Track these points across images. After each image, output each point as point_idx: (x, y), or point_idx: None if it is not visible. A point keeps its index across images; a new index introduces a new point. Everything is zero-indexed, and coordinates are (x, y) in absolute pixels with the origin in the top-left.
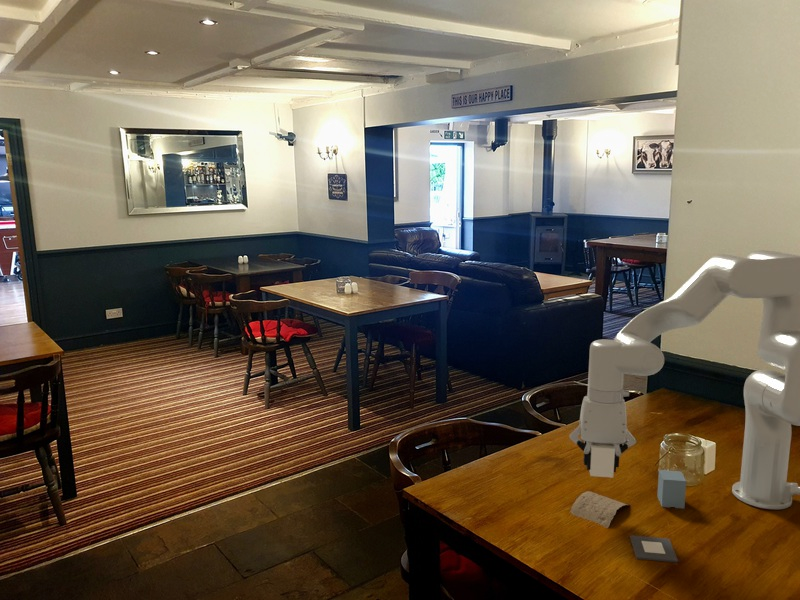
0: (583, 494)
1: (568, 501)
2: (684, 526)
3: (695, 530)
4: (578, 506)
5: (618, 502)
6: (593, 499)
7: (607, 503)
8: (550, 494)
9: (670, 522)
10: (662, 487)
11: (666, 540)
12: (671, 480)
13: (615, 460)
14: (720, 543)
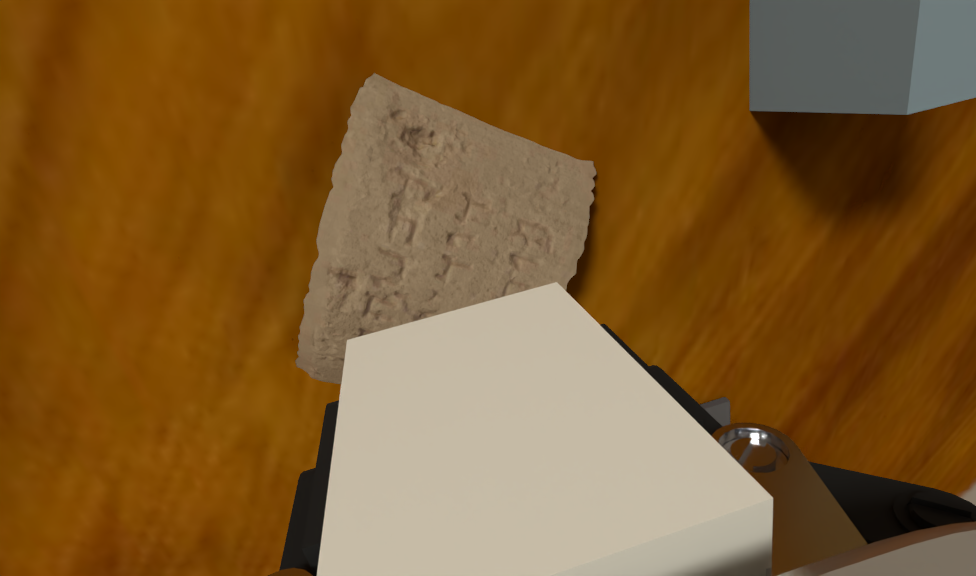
0: (334, 236)
1: (253, 254)
2: (806, 266)
3: (838, 280)
4: (335, 353)
5: (544, 226)
6: (407, 282)
7: (490, 291)
8: (107, 210)
9: (758, 256)
10: (843, 98)
11: (717, 416)
12: (953, 101)
13: None
14: (894, 335)
